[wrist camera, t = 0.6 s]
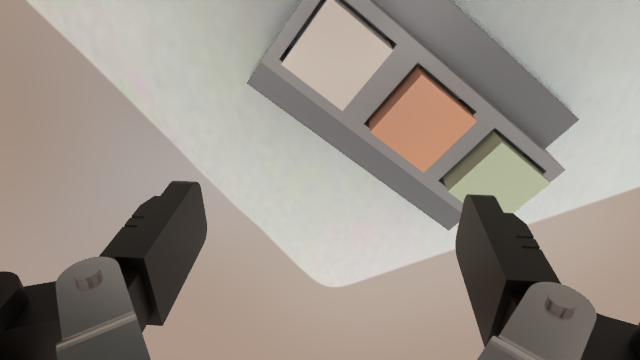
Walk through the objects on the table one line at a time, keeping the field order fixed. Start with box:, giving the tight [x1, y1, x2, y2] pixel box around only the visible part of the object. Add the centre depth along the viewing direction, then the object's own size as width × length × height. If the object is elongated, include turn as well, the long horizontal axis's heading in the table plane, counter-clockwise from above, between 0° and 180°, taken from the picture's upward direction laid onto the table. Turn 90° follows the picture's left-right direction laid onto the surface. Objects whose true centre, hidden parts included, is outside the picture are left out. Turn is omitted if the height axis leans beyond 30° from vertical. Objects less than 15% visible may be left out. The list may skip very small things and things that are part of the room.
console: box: [247, 0, 579, 230], centre depth 34 cm, size 15×24×6 cm, turn 53°
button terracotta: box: [368, 65, 477, 173], centre depth 31 cm, size 5×5×3 cm
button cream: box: [281, 0, 393, 111], centre depth 29 cm, size 5×5×3 cm
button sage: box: [442, 130, 550, 213], centre depth 33 cm, size 5×5×3 cm
